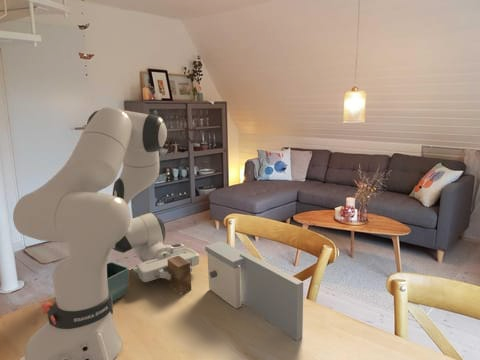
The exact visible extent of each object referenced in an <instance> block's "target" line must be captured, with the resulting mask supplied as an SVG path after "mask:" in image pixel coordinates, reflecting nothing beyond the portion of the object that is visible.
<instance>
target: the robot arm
mask: <svg viewBox="0 0 480 360" xmlns="http://www.w3.org/2000/svg"><path fill="white" fill-rule="evenodd" d="M167 136H168V130H167V124H166V122H165V121H164V119H163V118H162V117H161V116H158V115H156V114H151V113H150V114H148V113H147V114H146V113H141V112H136V111H130V110H122V109H120V108H118V107H114V106H107V107H105V106H104V107H103V108H100V109H98V110H95V111H93V112H92V113H91V115H89V117H88V120H87V123H86V125H85V128H84V130H83V131H82V133H81V135H80V136H79V137H80V138H79V139H78V142H77V143H76V145H75V147H74V149H73V151H72V153H71V155H70V156H69V158H68V160H67V162H66V163H65V164H64V165H63V166H62V167H61V169H59V170H58V172H56V174H55V175H53V176H52V177H51V178H50V179H49V180H48V181H47V182H45V184H43V185H42V186H40V187H39V188H37V189H35V190H33V191H31V192H29V193H27V194H25V195H23V196H22V197H20V199H19V200H18V201H17V203H16V204H15V206H14V209H13V212H12V213H13V214H12V219H13V220H12V221H13V224H14V227H15V229H16V230H17V232H18V233H20V235H23V236H25V237H27V238H28V237H29V238H31V239H35V240H38V241H43V242H44V241H45V242H57V243H66V244H68V246H69V254H68V256H65V257H64V258H63V259H61V260H59V262H58V263H57V264H56V265H55V267H54V269H53V272H52V284H53V290H54V295H55V296H54V297H55V302H54V303H53V304H52V303H51V302H50V301H46V302H44V303H43V304H42V305H41V309H42V311H43V313H44V314H46V315H47V321H46V322H45V323H44V324H43V325H42V326H41V327H40V328H39V329H38V330H37V331H36V332H35V333H34V334H33V335H32V336H31V337H29V338H28V341H27V343H26V346H25V349H24V350H25V351H24V355H23V356H21V357H20V358H19V360H115V359H116V358H117V356H118V355H119V354H120V352H121V351H122V347H123V342H122V339H121V337H120V335H119V333H118V331H117V327H116V324H115V320H114V317H113V314H114V311H113V309H114V304H113V302H114V301H113V302H112V296H111V292H110V291H109V290H108V281H107V263H108V258H109V255H110V253H111V251H112V250H114V251H116V252H119V253H121V254H124V253H127V252H129V251H130V250H133V252H134V255H136V257H137V258H138V259H139V260H140V261H141V262H140V263H138V264H137V265H135V266H134V267H133V268H132V271H133V272H134V273H135V274H137V275H138V277H139V279H140V280H141V281H142V282H143V283H148V282H151V281H153V280H157V279H160V278H161V279H166V280H168V281H169V280H170V279H173V277H172V276H173V274H172V273H171V272H168V260H167V259H169V258H172V257H175V256H180V257H182V258H183V259H185V260H186V261H188V262H189V263H190V273H192V272H193V267H195V266H198V265H200V255H199V253H198V252H196V251H195V250H193V249H192V248H190V247H186V246H185V244H183V243H177V244H176V243H175V244H164V242H165V239H166V227H165V223H164V221H163V220H162V219H161V217H160V216H158V215H157V214H156V213H154V212H149V213H145V214H141V215H139V216H136V217H134V218H131V210H130V208H129V203H130V202H131V201H132V199H134V197H136V196H137V195H138V194H140V193H141V192H143V191H144V190H145V189H146V190H147V188H149V187H150V186H152V185H153V184H154V183H155V182H156V180H157V179H158V177H159V175H160V174H159V173H160V154H159V151H160V150H162V149H163V148H164V146H165V144H166V141H167V138H168V137H167ZM121 166H122V170H121V171H120V169H121ZM119 172H121V173H120V174H119ZM118 174H119V177H118ZM117 177H118V178H117ZM113 183H114V184H113ZM112 184H113V188H112V189H113V190H112V194H108V193H104V192H100V191H102V190H104V189H106V188H108V187H110V186H111V185H112Z"/></svg>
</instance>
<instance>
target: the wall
mask: <svg viewBox="0 0 480 360" xmlns="http://www.w3.org/2000/svg"><path fill="white" fill-rule="evenodd" d="M204 248H205V249H204V251H205V252H207V253H210V254H211V255H213V256H215V257H216V258H218V259H220V260H221V261H223V262H225V263H226V264H228V265H230V266H232V267H236V266H239V267H240V288H241V304H243V305H244V306H246V307H247V308H248V309H250V310H252V312H254V313H255V314H257V315H258V316H259V317H261V318H262V319H264V320H266V321H267V322H269V323H270V324H272V325H273V326H275V327H276V328H278V329H279V330H280V331H281V332H283V333H284V334H286V336H287V335H288V336H289V337H290V338H292V339H293V340H295V341H299V340H301V339H303V330H304V329H303V327H304V326H303V323H304V321H303V319H304V314H303V313H304V281H302V280H300V279H298V278H297V277H295V276H292V275H291V274H289V273H287V272H285V271H282V270H281V269H279V268H278V267H275V266H273V265H271V264H270V263H267V262H266V261H264V260H262V259H259V258H257V257H255V256H254V255H252V254H250V253H248V252H246V251H245V252H243V250H242V251H241V250H239V249H238V248H236V247H234V246H233V245H229V244H228V243H226V242H224V241H223V240H221V241H218V242H213V243H211V244H210V243H209V244H207V245H205V246H204Z"/></svg>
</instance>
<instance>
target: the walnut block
mask: <svg viewBox="0 0 480 360" xmlns="http://www.w3.org/2000/svg"><path fill="white" fill-rule="evenodd" d="M167 260H168V272H171V273H172V274H173V276H172V277H173V279H170V280H168V286H169V287H171V288H172V289H173V290H174V291H176V292H177V293H178V295H182V294H185V293H187V292H190V291H191V290H192V279H191V278H192V275H191V273H192V272H190V263H189V262H188V261H186V260H185V259H183V258H182V257H180V256H175V257H172V258H169V259H167Z"/></svg>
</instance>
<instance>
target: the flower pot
mask: <svg viewBox="0 0 480 360" xmlns="http://www.w3.org/2000/svg"><path fill="white" fill-rule="evenodd" d="M129 274H130V268H129V267H127V266H125V265H122V264H118V263H117V262H113V261H109V262H107V281H108V290H109V291H110V292H111V296H112V302H115V301H116V300H119V299H120V298H122V297H124V296H125V293H126V292H127V290H128V287H129V281H130V280H129V278H130V277H129Z"/></svg>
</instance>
